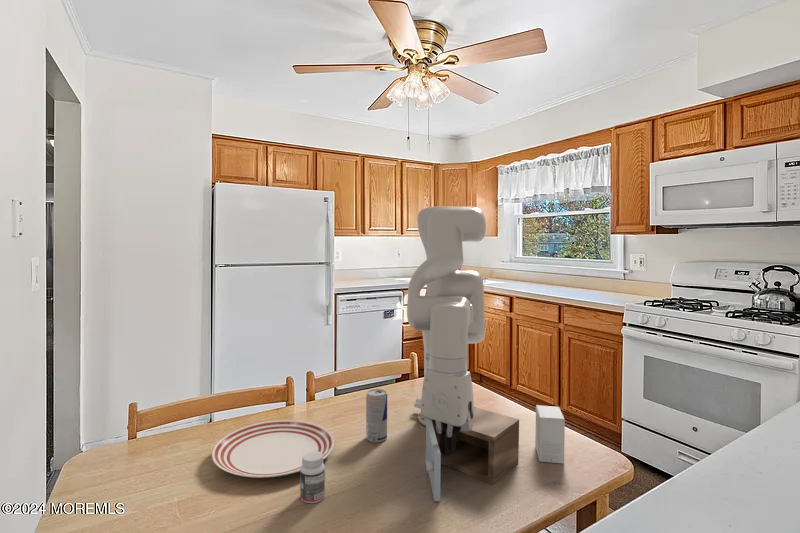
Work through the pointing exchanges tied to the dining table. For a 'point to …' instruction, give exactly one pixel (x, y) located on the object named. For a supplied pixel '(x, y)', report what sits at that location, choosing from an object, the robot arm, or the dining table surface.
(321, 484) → the pill bottle
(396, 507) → the dining table surface
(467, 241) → the robot arm
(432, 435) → the side door
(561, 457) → the small box
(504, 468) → the cabinet
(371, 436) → the energy drink
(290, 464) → the dinner plate
